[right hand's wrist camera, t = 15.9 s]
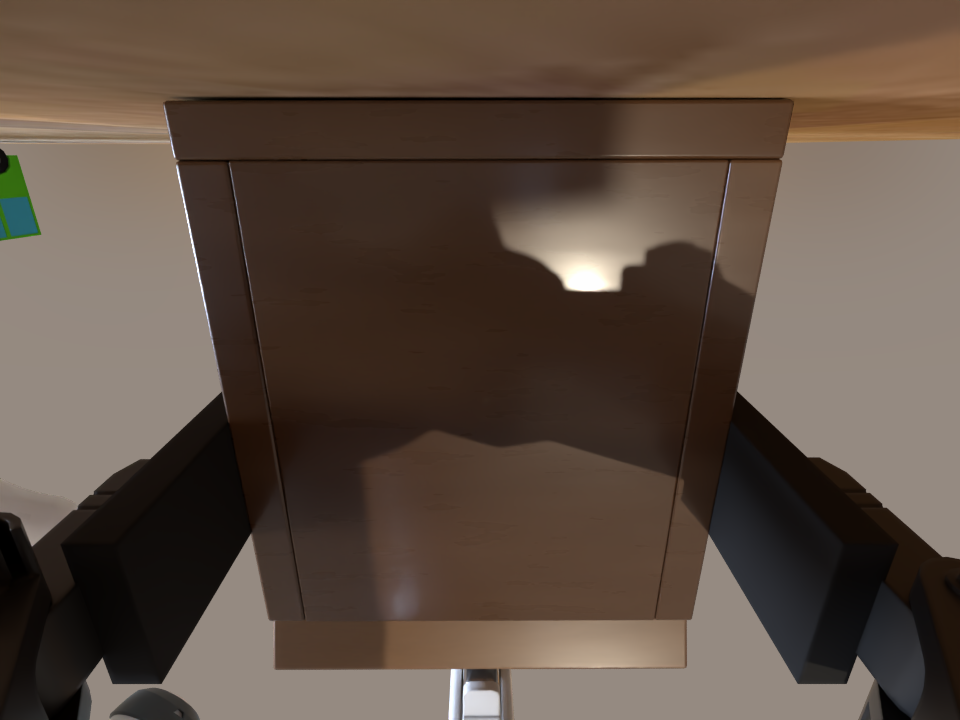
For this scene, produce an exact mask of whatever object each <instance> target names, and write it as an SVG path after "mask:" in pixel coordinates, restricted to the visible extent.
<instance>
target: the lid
mask: <svg viewBox="0 0 960 720" xmlns="http://www.w3.org/2000/svg"><path fill="white" fill-rule="evenodd" d="M686 666H687V620H656V619H655V618H654V620H571V621H306V618H305V620H303V621H274V669H276V670H334V669H335V670H336V669H337V670H341V669H625V668H626V669H628V668H629V669H630V668H686Z"/></svg>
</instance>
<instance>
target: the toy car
mask: <svg viewBox="0 0 960 720" xmlns="http://www.w3.org/2000/svg"><path fill="white" fill-rule="evenodd" d="M35 235H41V232H40V229H39V226H38V222H37V219H36V216H35V212H34V209H33V206H32V203H31V199H30V196H29V193H28V190H27V186H26V183H25V180H24V177H23V173H22V170H21V167H20V164H19V160H18V157H17V155H6V154H5V153H4V151H3V150H1V149H0V241H1V240H8V239H15V238H21V237H28V236H35Z"/></svg>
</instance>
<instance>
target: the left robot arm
mask: <svg viewBox="0 0 960 720" xmlns="http://www.w3.org/2000/svg"><path fill="white" fill-rule="evenodd" d="M77 508H78V504H76V503H75V502H73V501H71V500H69V499H67V498H65V497H61V496H54V495H48V494H44V493H39V492H35V491H32V490H28V489H25V488H22V487H19V486H17V485H14V484H12V483H9V482H7V481H5V480H3V479H1V478H0V512H7V513H12V514H14V515H16V516H18V517H19V518H21V521H22V523H23V526H24V528H25V531H26V533H27V536H28V538H29V541H30V543H31V546H33V545H34V544H35V543H37V542H38V541H39V540H40V539H41V538H42V537H43V536H44V535H46V534H47V533H48V532H49V531H50V530H51V529H52V528H53V527H55V526H56V525H57V524H58V523H59V522H60V521H61V520H62V519H64V518H65V517H66V516H67V515H68V514H69V513H70V512H71V511H73V510H77ZM109 720H200V719H199V716H198V714H197V713H196V712H195V710H194V709H193V708H192V707H191V706H190V705H189V704H188V702H187V701H186V700H184V699H183V698H182V697H180V696H179V695H177V694H175V693H172V692H168V691H166V690H162V689H159V688H149V689H142V690H138V691H137V692H135V693H134V694H132V695H131V696H130V697H129V698H127V699H126V700H125V701H124V702H123V703H122V704H120V705H119V706H118V707H117V708H116V709H115V710H114V711H113V712H112V713H111V714H110V719H109ZM449 720H514V710H513V694H512V679H511V669H451V683H450V702H449Z"/></svg>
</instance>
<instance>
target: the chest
mask: <svg viewBox="0 0 960 720" xmlns="http://www.w3.org/2000/svg"><path fill="white" fill-rule="evenodd" d="M793 105H794V102H793V101H792V100H790V99H713V100H270V101H165V102H164V103H163V107H164V112H165V117H166V122H167V127H168V131H169V136H170V141H171V146H172V151H173V156H174V158H175V159H176V160H179V161H178V162H177V163H176V169H177V174H178V179H179V183H180V188H181V193H182V198H183V203H184V208H185V213H186V218H187V223H188V227H189V232H190V237H191V242H192V247H193V252H194V257H195V262H196V267H197V271H198V276H199V281H200V286H201V291H202V296H203V301H204V306H205V310H206V315H207V320H208V325H209V330H210V335H211V340H212V345H213V350H214V354H215V360H216V364H217V369H218V374H219V379H220V384H221V389H222V394H223V399H224V404H225V409H226V413H227V418H228V423H229V428H230V433H231V438H232V443H233V448H234V453H235V457H236V462H237V467H238V472H239V477H240V482H241V487H242V492H243V497H244V502H245V506H246V511H247V516H248V521H249V526H250V531H251V536H252V541H253V546H254V550H255V555H256V560H257V565H258V570H259V575H260V580H261V585H262V590H263V594H264V599H265V604H266V609H267V614H268V619H269V620H270V621H303V620H305V618H306V621H571V620H654V618H655V619H656V620H691V619H692V615H693V610H694V605H695V600H696V594H697V589H698V584H699V579H700V574H701V569H702V564H703V559H704V554H705V549H706V544H707V539H708V534H709V528H710V523H711V518H712V513H713V508H714V503H715V498H716V493H717V488H718V483H719V478H720V473H721V468H722V463H723V458H724V453H725V448H726V443H727V438H728V433H729V428H730V423H731V418H732V413H733V408H734V403H735V398H736V393H737V388H738V383H739V378H740V373H741V368H742V363H743V358H744V353H745V348H746V343H747V338H748V333H749V328H750V323H751V318H752V312H753V307H754V302H755V297H756V292H757V287H758V282H759V277H760V272H761V267H762V262H763V257H764V252H765V247H766V242H767V237H768V232H769V227H770V222H771V217H772V212H773V207H774V202H775V197H776V192H777V187H778V182H779V177H780V172H781V167H782V160H780V158H782V157H783V155H784V150H785V145H786V140H787V135H788V130H789V125H790V120H791V115H792V110H793Z"/></svg>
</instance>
